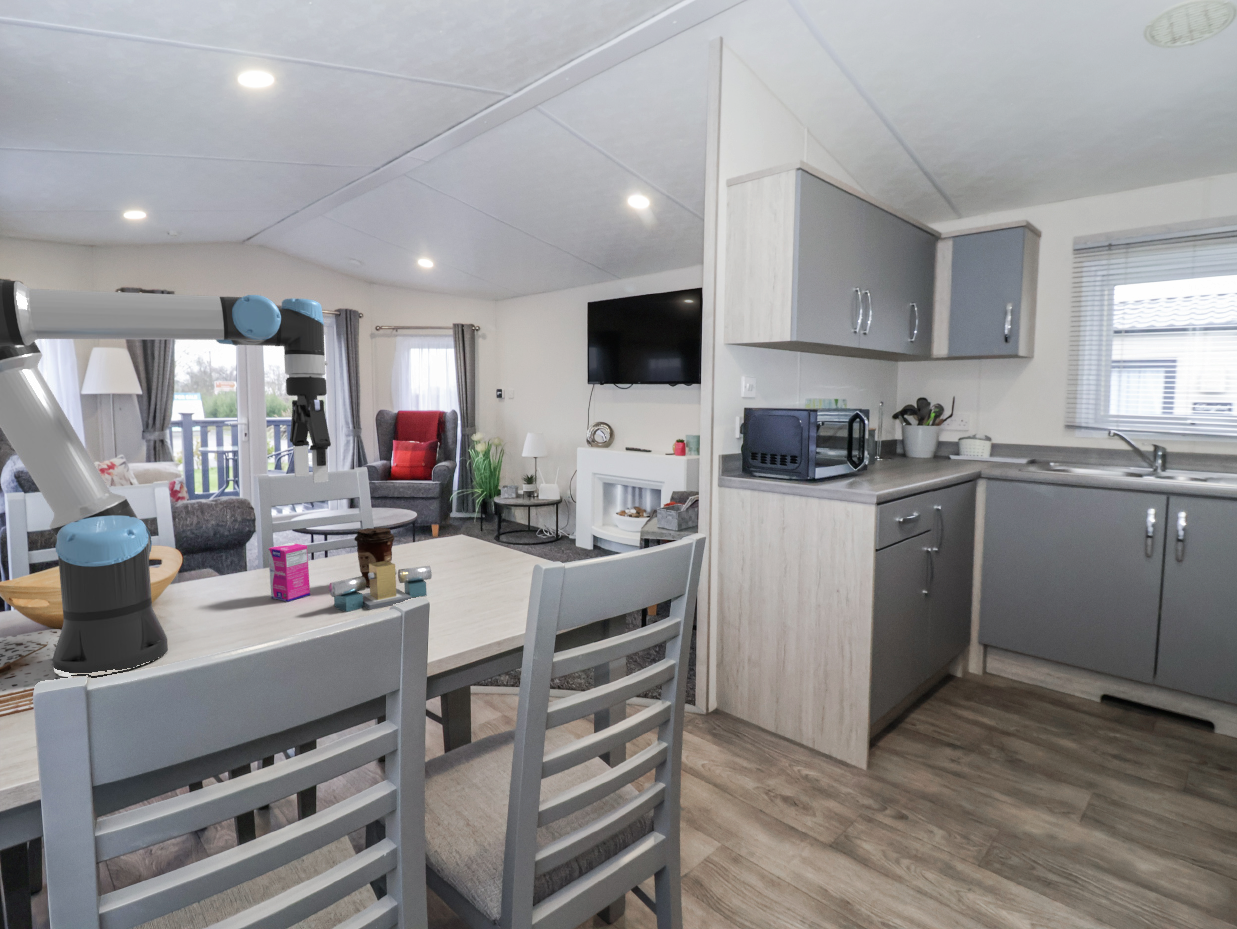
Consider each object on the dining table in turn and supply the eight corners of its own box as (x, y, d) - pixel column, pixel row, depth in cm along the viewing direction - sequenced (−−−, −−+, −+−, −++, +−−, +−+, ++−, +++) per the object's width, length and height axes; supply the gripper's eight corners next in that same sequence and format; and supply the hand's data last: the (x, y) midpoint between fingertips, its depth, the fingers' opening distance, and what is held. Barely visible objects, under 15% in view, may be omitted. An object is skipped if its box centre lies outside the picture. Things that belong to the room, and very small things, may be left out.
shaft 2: (402, 599, 142) (401, 572, 142) (397, 593, 147) (396, 567, 146) (433, 594, 146) (432, 568, 145) (427, 589, 150) (426, 563, 149)
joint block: (374, 600, 138) (372, 568, 137) (366, 596, 141) (365, 564, 141) (400, 595, 142) (398, 563, 141) (392, 591, 145) (390, 560, 144)
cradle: (369, 609, 135) (369, 604, 135) (354, 599, 142) (354, 595, 142) (411, 601, 141) (411, 596, 141) (395, 592, 148) (395, 587, 148)
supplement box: (269, 599, 143) (266, 547, 142) (294, 591, 148) (291, 542, 147) (287, 602, 141) (284, 550, 139) (311, 595, 146) (308, 544, 145)
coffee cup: (369, 591, 149) (366, 534, 147) (349, 585, 154) (346, 530, 152) (402, 582, 155) (400, 528, 154) (382, 577, 160) (380, 524, 159)
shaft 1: (339, 613, 133) (338, 584, 132) (327, 609, 136) (326, 580, 135) (369, 606, 138) (368, 578, 137) (357, 601, 141) (356, 574, 140)
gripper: (344, 375, 128) (349, 483, 130) (308, 378, 147) (312, 472, 149) (303, 374, 123) (309, 486, 125) (271, 377, 142) (276, 475, 144)
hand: (311, 479), depth 137 cm, fingers open, 13 cm apart
